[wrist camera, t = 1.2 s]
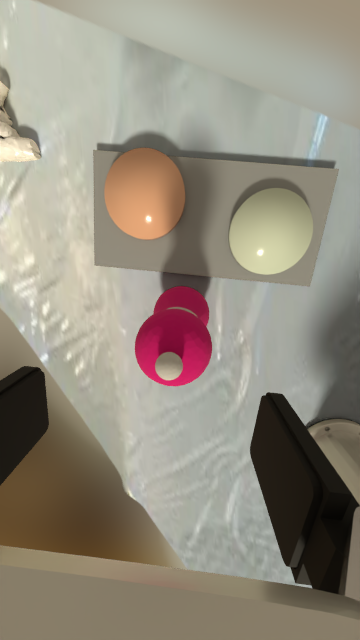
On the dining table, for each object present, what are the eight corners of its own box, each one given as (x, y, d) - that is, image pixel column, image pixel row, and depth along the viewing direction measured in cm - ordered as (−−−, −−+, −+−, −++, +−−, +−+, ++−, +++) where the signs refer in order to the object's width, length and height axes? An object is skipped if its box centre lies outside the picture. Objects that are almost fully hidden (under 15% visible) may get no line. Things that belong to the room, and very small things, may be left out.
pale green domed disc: (315, 195, 26) (322, 191, 25) (296, 277, 29) (302, 278, 27) (234, 188, 27) (236, 184, 25) (223, 270, 29) (224, 270, 28)
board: (332, 173, 27) (338, 169, 25) (305, 285, 30) (309, 286, 29) (97, 154, 28) (93, 149, 26) (98, 265, 31) (94, 265, 30)
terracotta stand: (189, 157, 26) (189, 151, 25) (181, 243, 29) (180, 242, 27) (109, 151, 26) (104, 144, 25) (108, 236, 29) (104, 235, 27)
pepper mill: (171, 275, 31) (133, 292, 12) (215, 296, 31) (251, 347, 12) (151, 318, 33) (92, 395, 13) (194, 337, 33) (195, 440, 14)
